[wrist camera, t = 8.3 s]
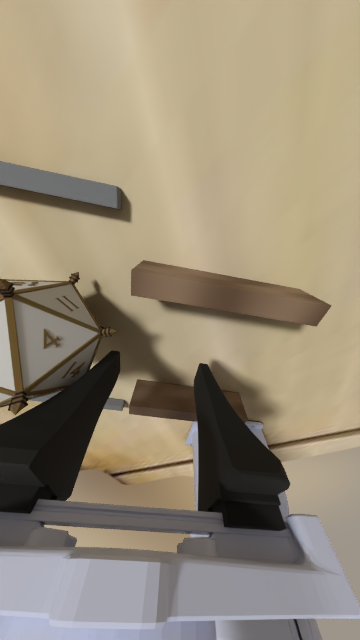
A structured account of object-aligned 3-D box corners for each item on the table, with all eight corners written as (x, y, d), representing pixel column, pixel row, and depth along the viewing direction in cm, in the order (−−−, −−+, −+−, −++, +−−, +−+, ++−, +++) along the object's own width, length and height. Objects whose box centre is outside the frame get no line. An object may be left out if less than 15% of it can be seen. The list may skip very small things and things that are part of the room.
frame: (121, 189, 9) (116, 186, 8) (124, 404, 20) (122, 410, 19) (-237, 112, 8) (-277, 101, 7) (-26, 386, 19) (-34, 392, 18)
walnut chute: (299, 289, 12) (331, 305, 9) (234, 400, 19) (242, 427, 17) (143, 260, 11) (131, 269, 9) (136, 387, 18) (129, 413, 16)
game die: (115, 275, 15) (157, 337, 8) (89, 347, 17) (103, 444, 10) (-43, 219, 9) (-461, 258, 2) (-49, 339, 11) (-244, 556, 4)
